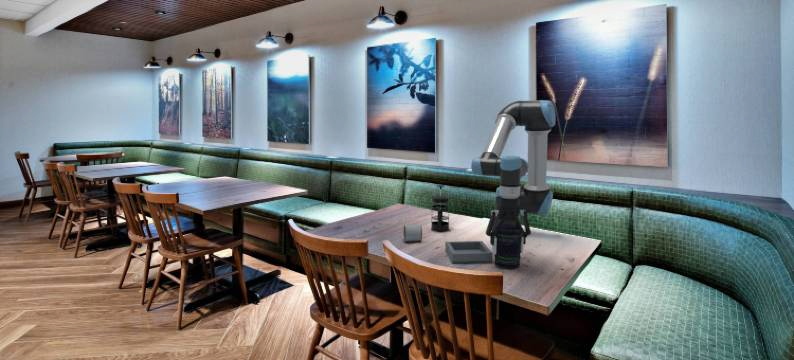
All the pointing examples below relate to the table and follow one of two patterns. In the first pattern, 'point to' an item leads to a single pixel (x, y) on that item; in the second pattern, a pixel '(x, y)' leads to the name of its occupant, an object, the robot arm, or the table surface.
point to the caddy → (468, 252)
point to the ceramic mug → (412, 233)
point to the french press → (440, 213)
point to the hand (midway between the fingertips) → (507, 252)
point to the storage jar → (508, 246)
